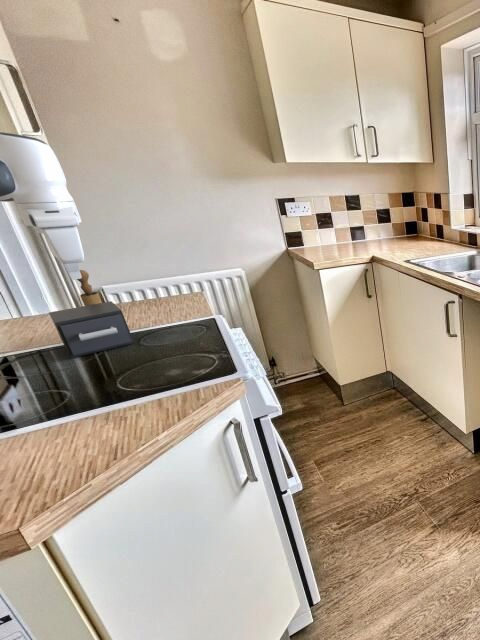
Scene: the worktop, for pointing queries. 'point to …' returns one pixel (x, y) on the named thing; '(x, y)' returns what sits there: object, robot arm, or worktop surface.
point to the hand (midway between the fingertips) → (76, 278)
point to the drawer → (95, 333)
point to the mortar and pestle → (88, 291)
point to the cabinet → (85, 314)
